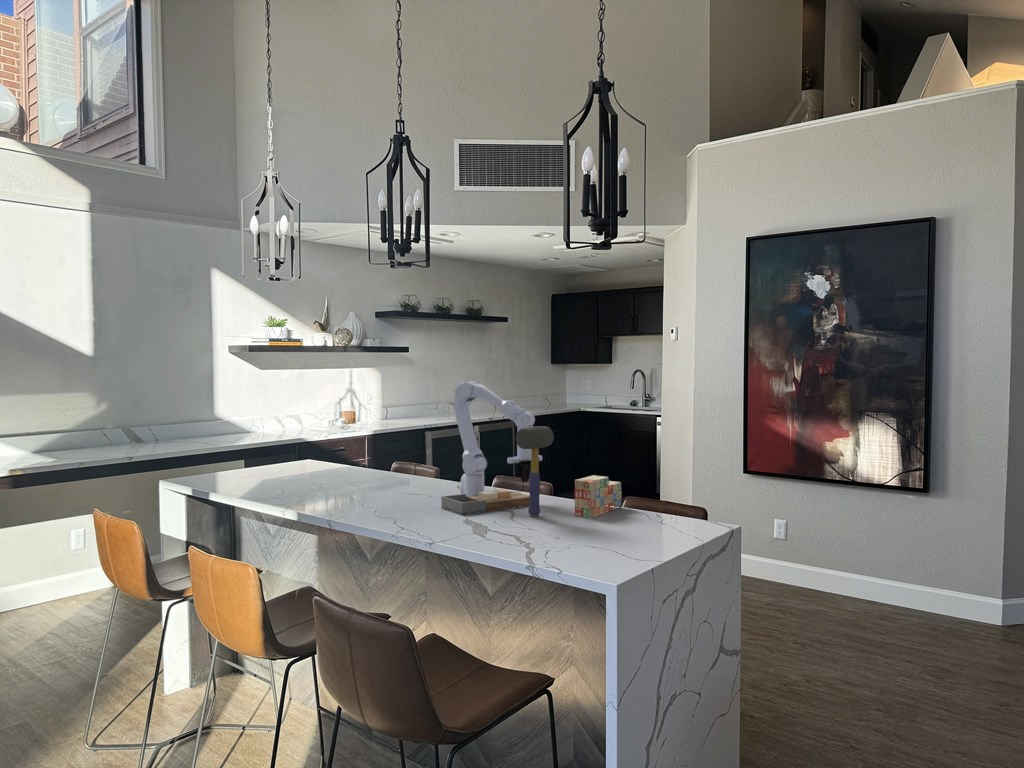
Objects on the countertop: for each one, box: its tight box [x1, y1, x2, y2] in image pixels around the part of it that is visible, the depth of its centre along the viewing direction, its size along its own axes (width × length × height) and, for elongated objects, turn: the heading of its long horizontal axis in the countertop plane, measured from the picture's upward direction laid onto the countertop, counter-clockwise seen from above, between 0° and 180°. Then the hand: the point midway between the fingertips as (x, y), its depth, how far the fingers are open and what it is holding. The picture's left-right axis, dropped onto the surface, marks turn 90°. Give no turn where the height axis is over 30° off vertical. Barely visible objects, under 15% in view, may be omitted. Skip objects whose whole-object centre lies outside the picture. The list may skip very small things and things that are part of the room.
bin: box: [440, 493, 487, 515], centre depth 246 cm, size 14×10×4 cm
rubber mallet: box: [515, 425, 555, 518], centre depth 235 cm, size 12×8×30 cm, turn 137°
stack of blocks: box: [574, 474, 622, 518], centre depth 244 cm, size 21×6×12 cm, turn 143°
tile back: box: [492, 488, 512, 498], centre depth 255 cm, size 5×5×2 cm
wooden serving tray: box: [466, 490, 530, 512], centre depth 254 cm, size 14×20×3 cm
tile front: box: [478, 490, 498, 500], centre depth 251 cm, size 5×5×2 cm
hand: (524, 481), depth 260 cm, fingers closed
